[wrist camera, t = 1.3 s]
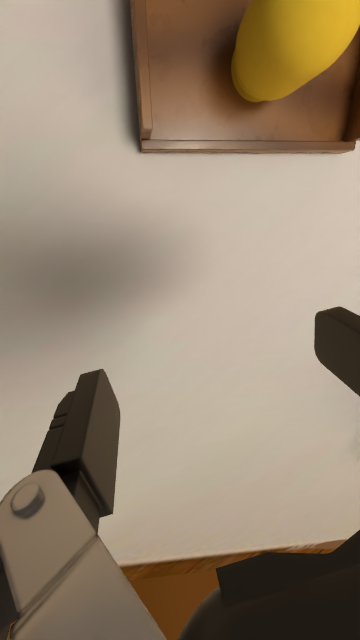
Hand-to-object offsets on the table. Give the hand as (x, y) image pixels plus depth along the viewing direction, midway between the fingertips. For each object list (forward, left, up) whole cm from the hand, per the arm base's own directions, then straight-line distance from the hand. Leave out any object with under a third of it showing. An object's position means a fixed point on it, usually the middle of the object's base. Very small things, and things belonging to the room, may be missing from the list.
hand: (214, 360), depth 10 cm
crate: (+3, +17, -19) cm, 25 cm away
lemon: (+3, +17, -18) cm, 25 cm away
